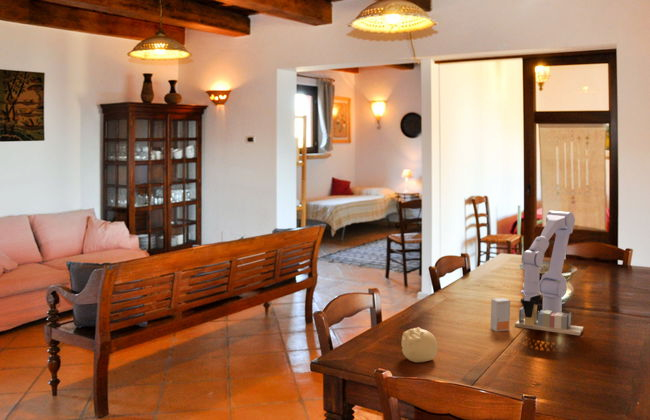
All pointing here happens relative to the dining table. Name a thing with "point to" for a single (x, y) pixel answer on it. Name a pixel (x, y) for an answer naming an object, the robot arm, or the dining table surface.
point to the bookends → (521, 317)
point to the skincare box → (500, 314)
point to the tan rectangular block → (533, 317)
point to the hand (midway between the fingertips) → (530, 314)
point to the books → (552, 319)
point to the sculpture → (419, 345)
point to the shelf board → (572, 330)
